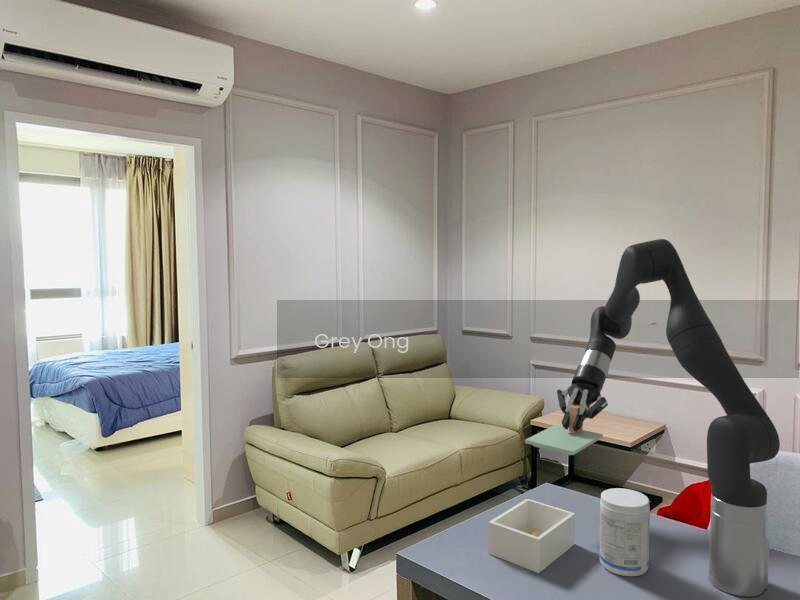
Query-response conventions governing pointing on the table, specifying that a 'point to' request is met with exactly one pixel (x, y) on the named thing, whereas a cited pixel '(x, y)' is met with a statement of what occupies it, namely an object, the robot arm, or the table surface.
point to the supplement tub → (624, 531)
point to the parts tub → (532, 534)
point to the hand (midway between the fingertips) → (570, 428)
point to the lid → (564, 437)
